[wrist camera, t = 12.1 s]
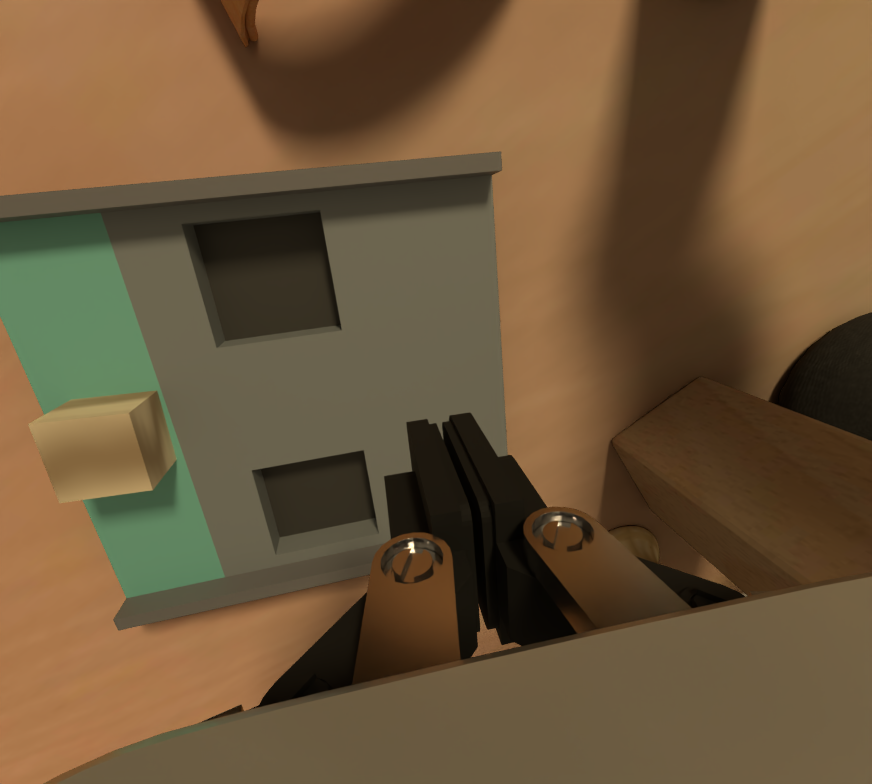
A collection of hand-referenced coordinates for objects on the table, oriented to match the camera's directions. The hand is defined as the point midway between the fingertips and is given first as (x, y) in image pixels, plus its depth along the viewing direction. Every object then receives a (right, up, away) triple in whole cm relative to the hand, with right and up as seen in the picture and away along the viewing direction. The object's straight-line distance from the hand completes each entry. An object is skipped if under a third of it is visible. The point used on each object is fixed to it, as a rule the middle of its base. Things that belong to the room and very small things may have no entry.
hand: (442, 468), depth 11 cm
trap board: (-10, +2, +21) cm, 24 cm away
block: (-21, -1, +17) cm, 27 cm away
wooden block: (+22, -3, +30) cm, 37 cm away
